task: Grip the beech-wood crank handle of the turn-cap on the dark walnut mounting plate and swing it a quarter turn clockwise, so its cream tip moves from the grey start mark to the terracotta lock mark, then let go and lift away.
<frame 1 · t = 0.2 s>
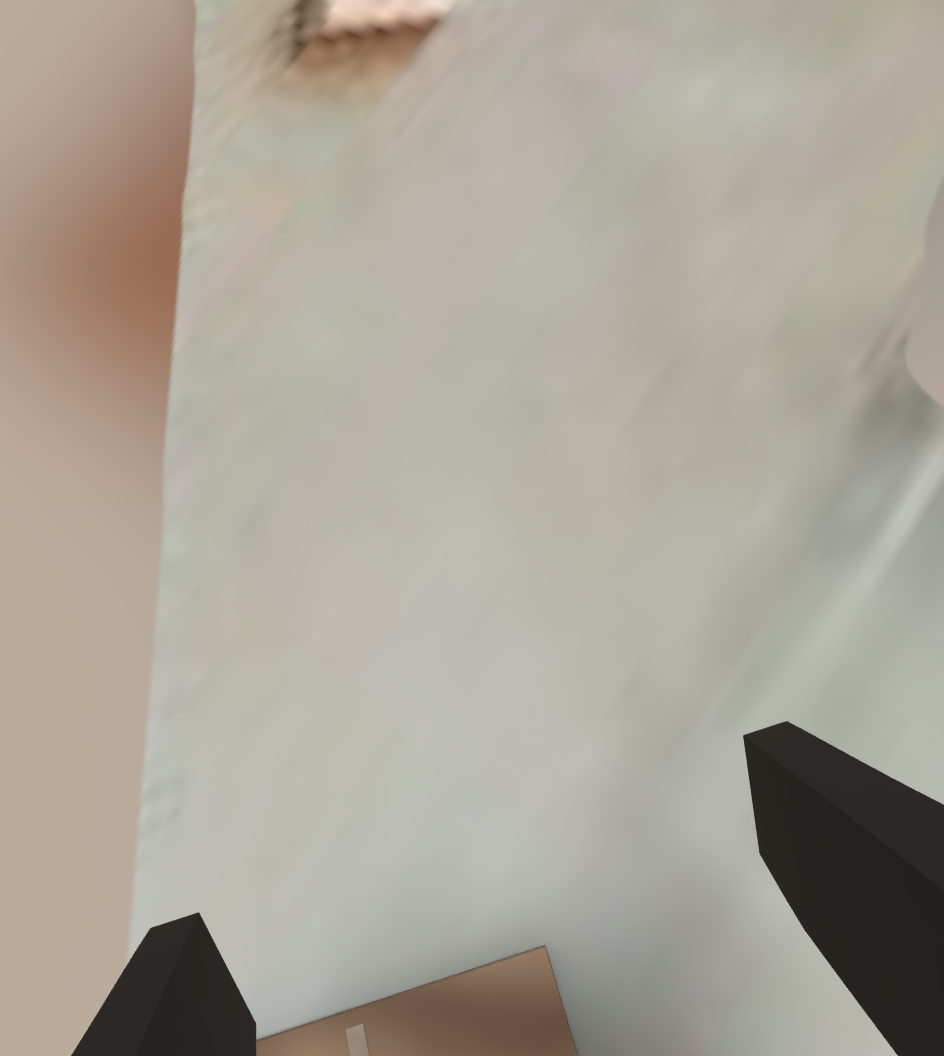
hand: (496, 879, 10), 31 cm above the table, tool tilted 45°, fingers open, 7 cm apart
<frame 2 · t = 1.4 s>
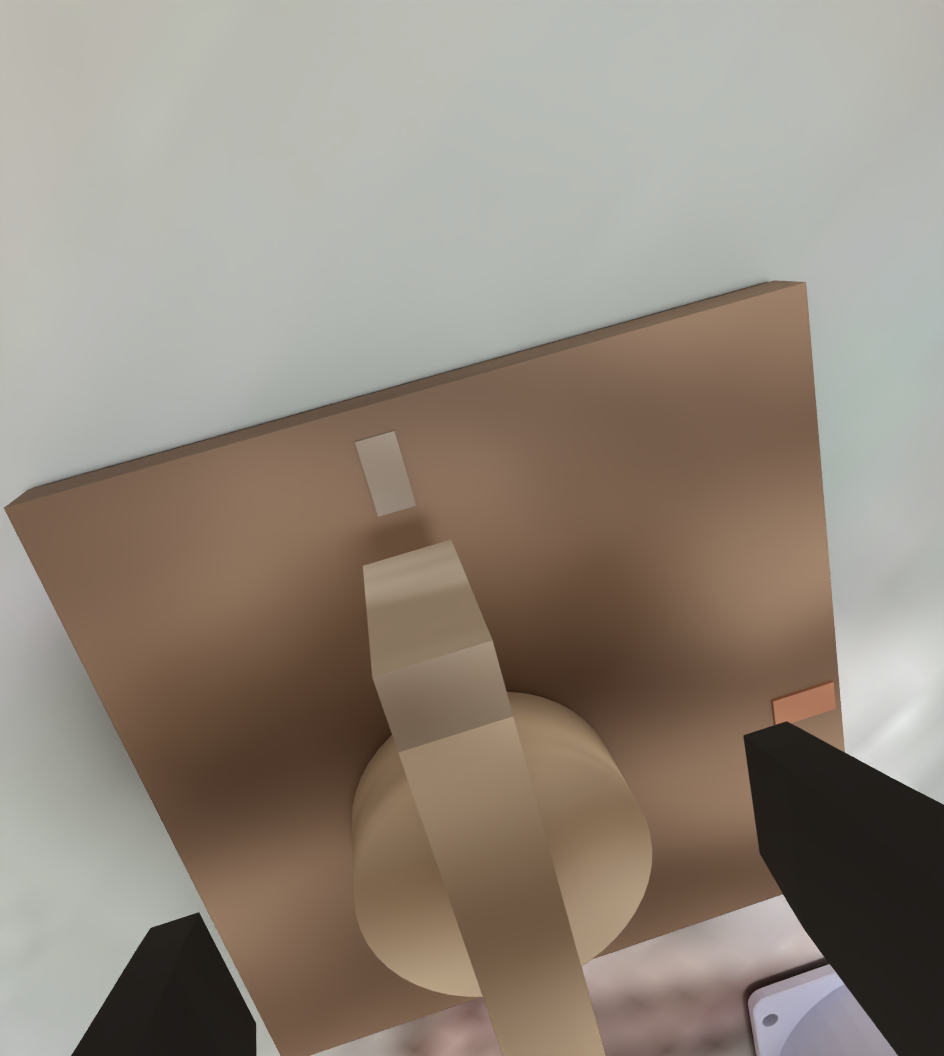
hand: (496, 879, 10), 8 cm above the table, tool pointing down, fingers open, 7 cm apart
turn cap: (488, 823, 15), point 4 cm above the table, hinge at 0.0°
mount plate: (477, 773, 20), on the table
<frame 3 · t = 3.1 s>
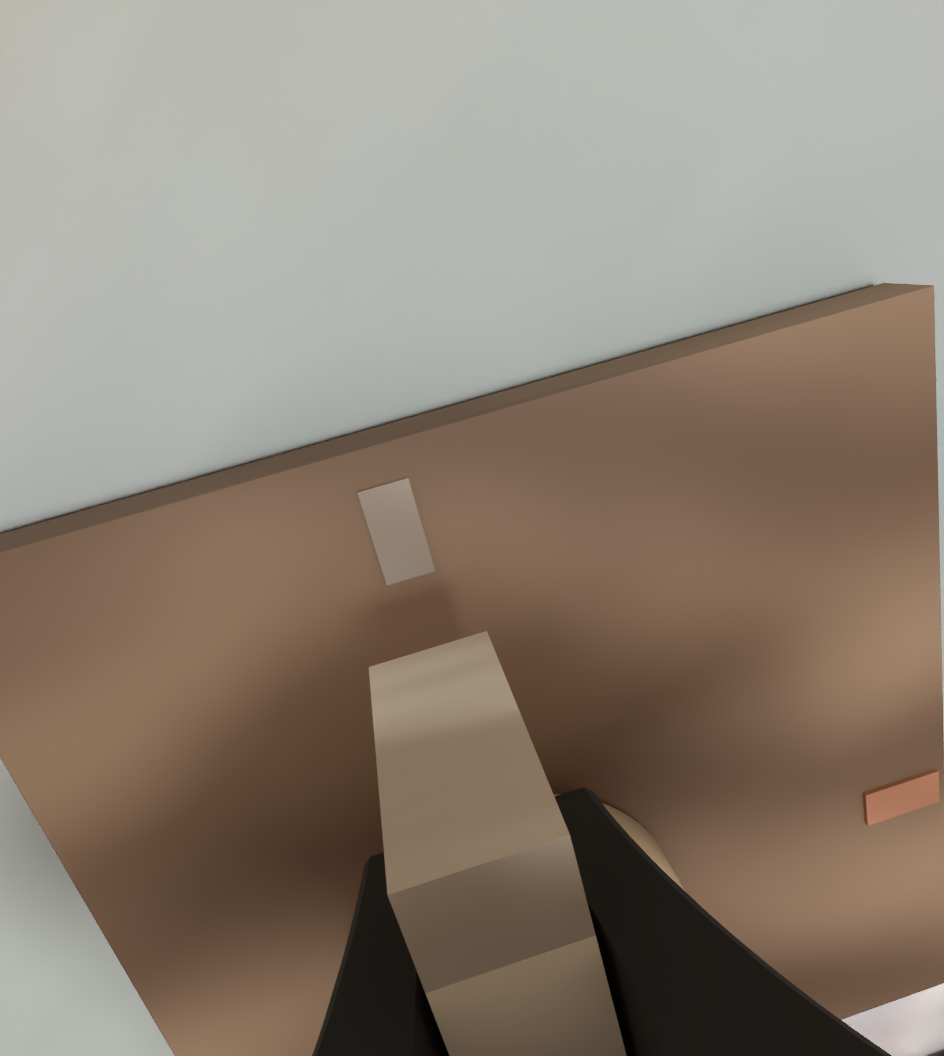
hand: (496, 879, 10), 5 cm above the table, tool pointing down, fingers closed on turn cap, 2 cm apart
turn cap: (531, 989, 11), point 4 cm above the table, hinge at 0.0°, touching gripper
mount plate: (504, 878, 16), on the table
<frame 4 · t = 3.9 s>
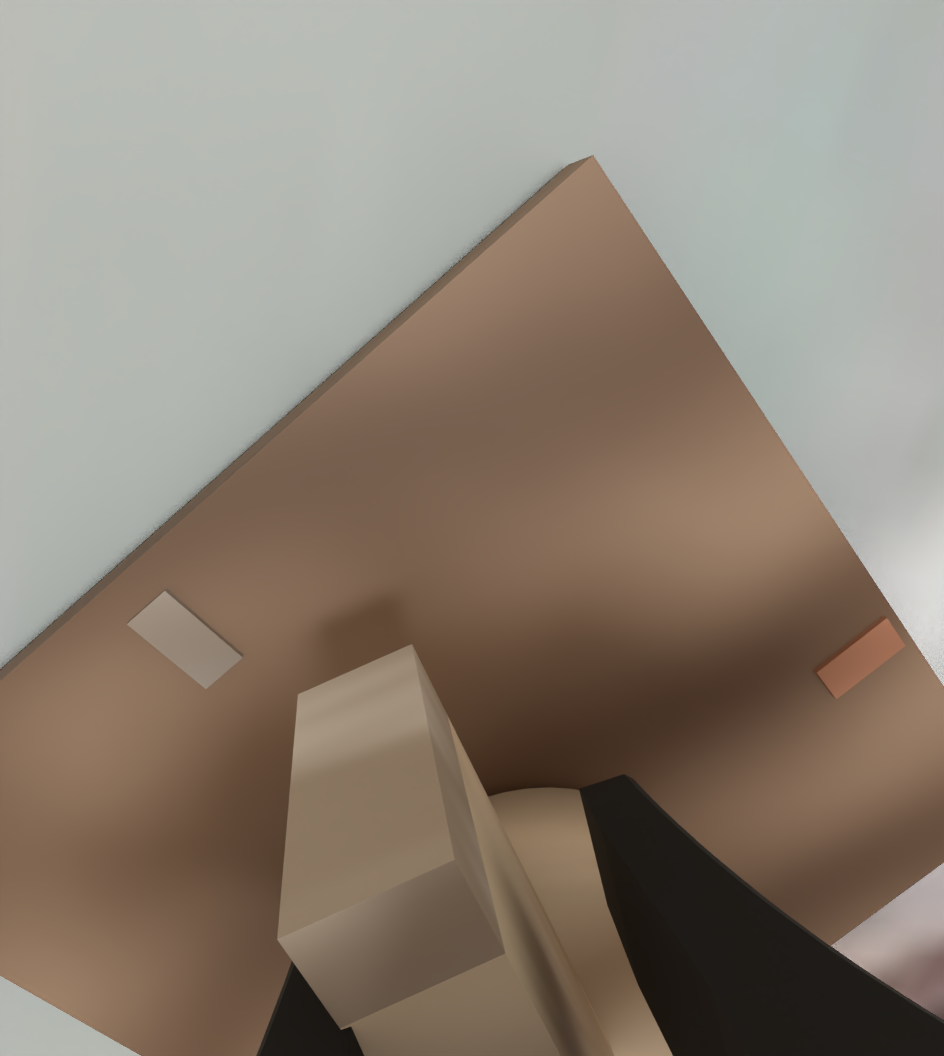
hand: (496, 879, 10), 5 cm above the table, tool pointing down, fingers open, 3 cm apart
turn cap: (515, 990, 11), point 4 cm above the table, hinge at 17.7°, touching gripper
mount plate: (507, 872, 16), on the table
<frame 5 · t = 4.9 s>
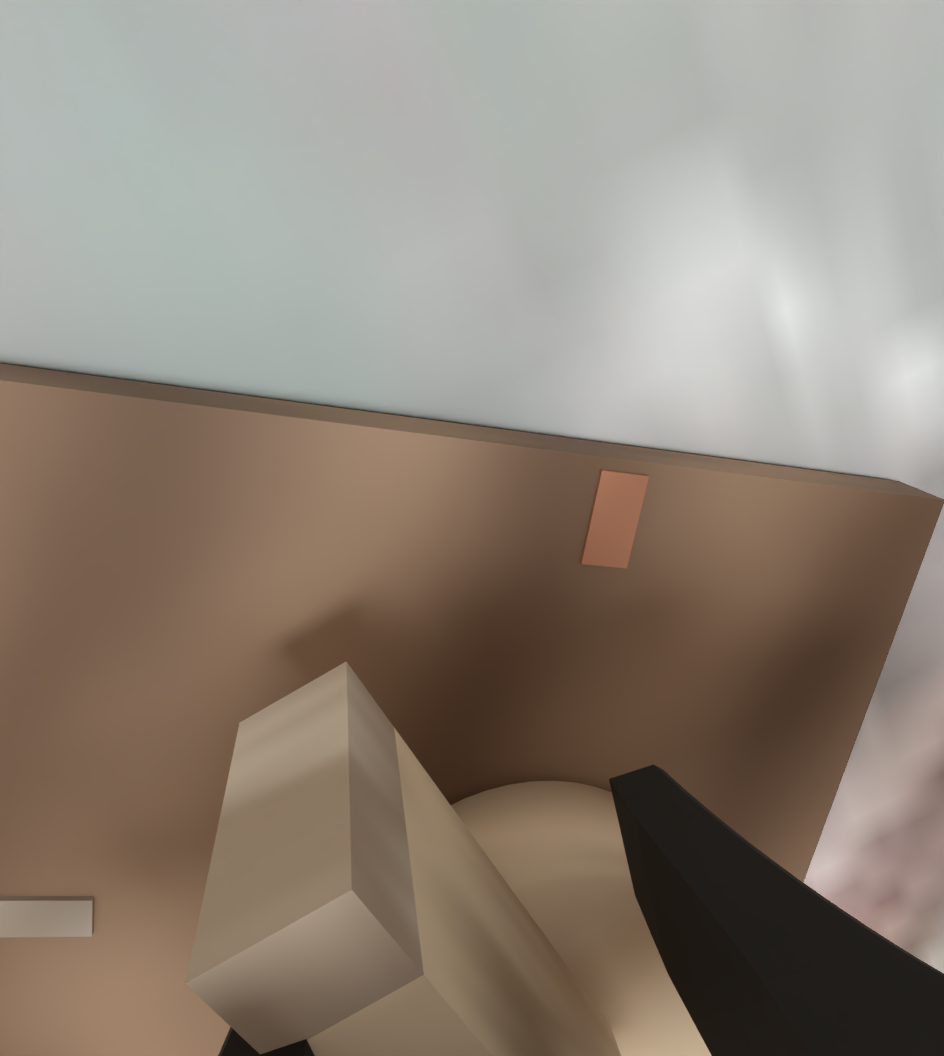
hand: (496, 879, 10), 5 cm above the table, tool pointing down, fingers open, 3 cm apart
turn cap: (500, 990, 11), point 4 cm above the table, hinge at 52.1°, touching gripper
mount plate: (508, 866, 16), on the table
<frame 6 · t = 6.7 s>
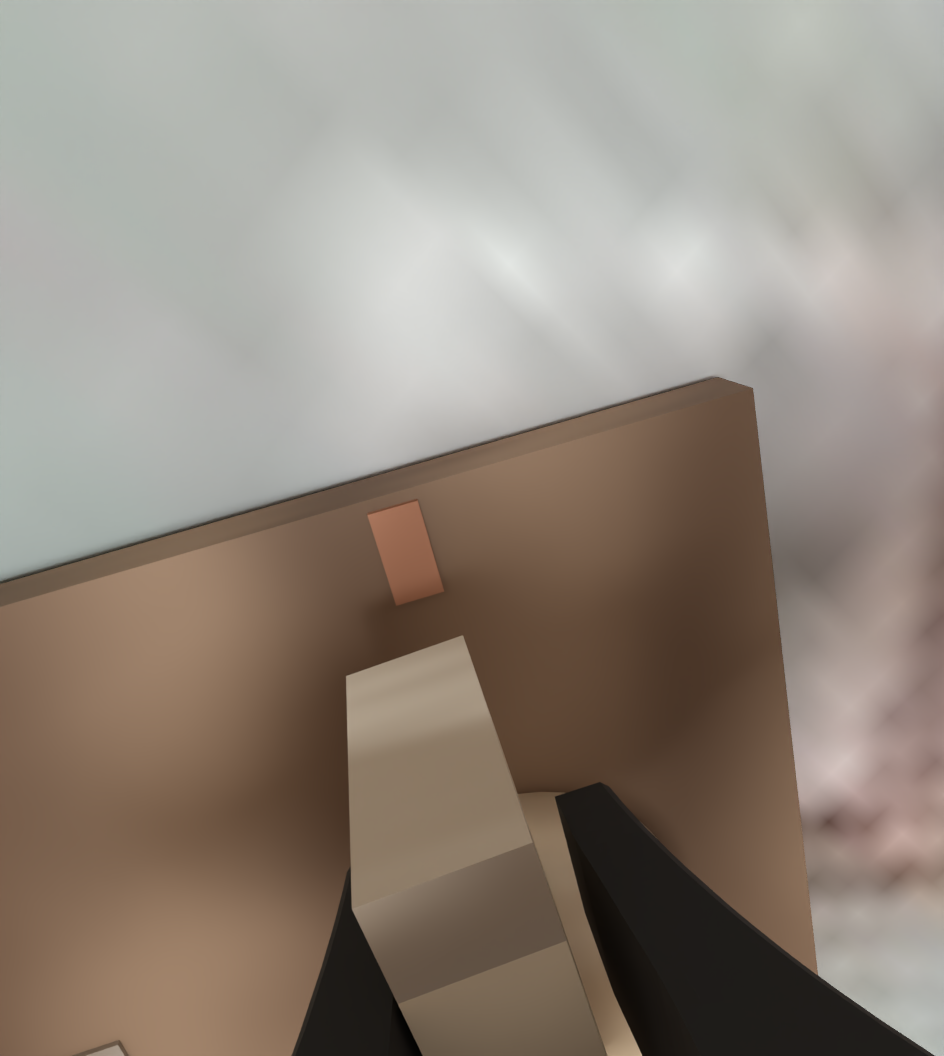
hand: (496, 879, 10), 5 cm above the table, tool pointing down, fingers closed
turn cap: (527, 989, 11), point 4 cm above the table, hinge at 87.4°, touching gripper
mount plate: (506, 876, 16), on the table
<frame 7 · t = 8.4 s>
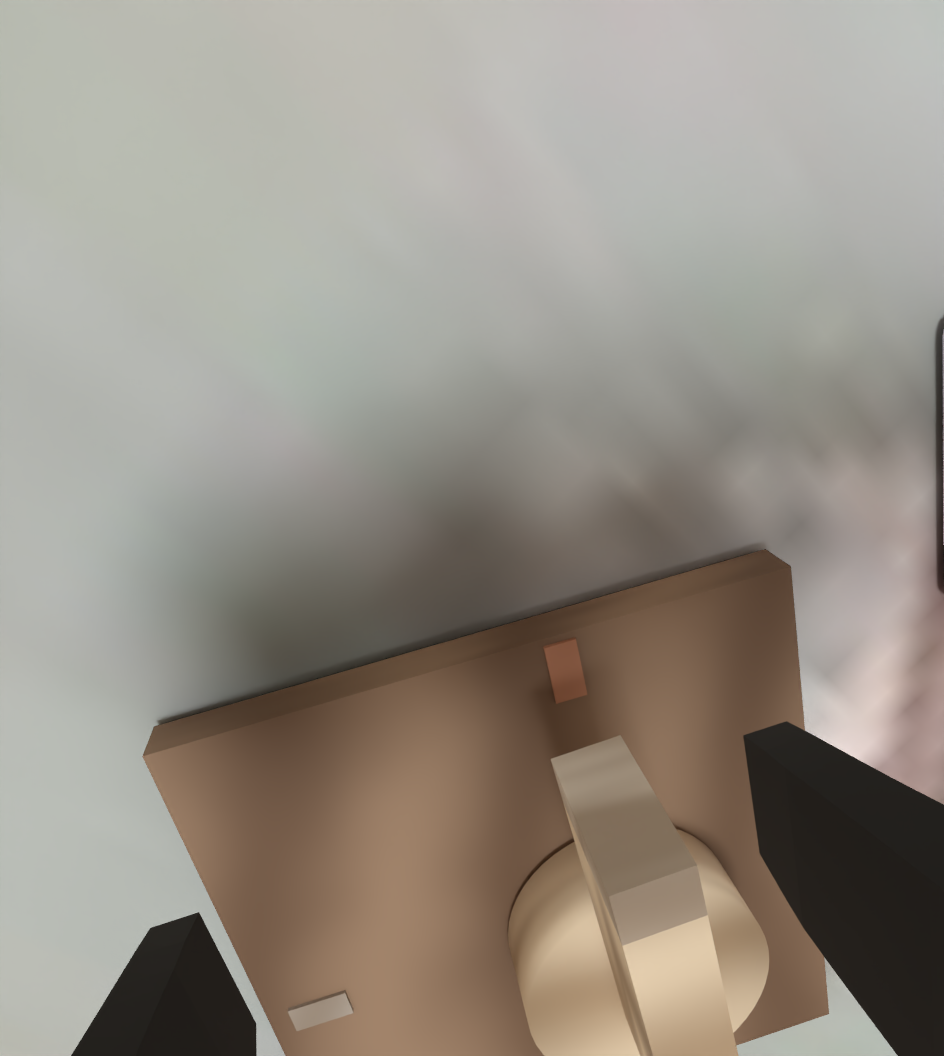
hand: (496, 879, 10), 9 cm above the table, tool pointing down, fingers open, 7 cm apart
turn cap: (645, 952, 18), point 4 cm above the table, hinge at 87.6°
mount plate: (604, 880, 23), on the table
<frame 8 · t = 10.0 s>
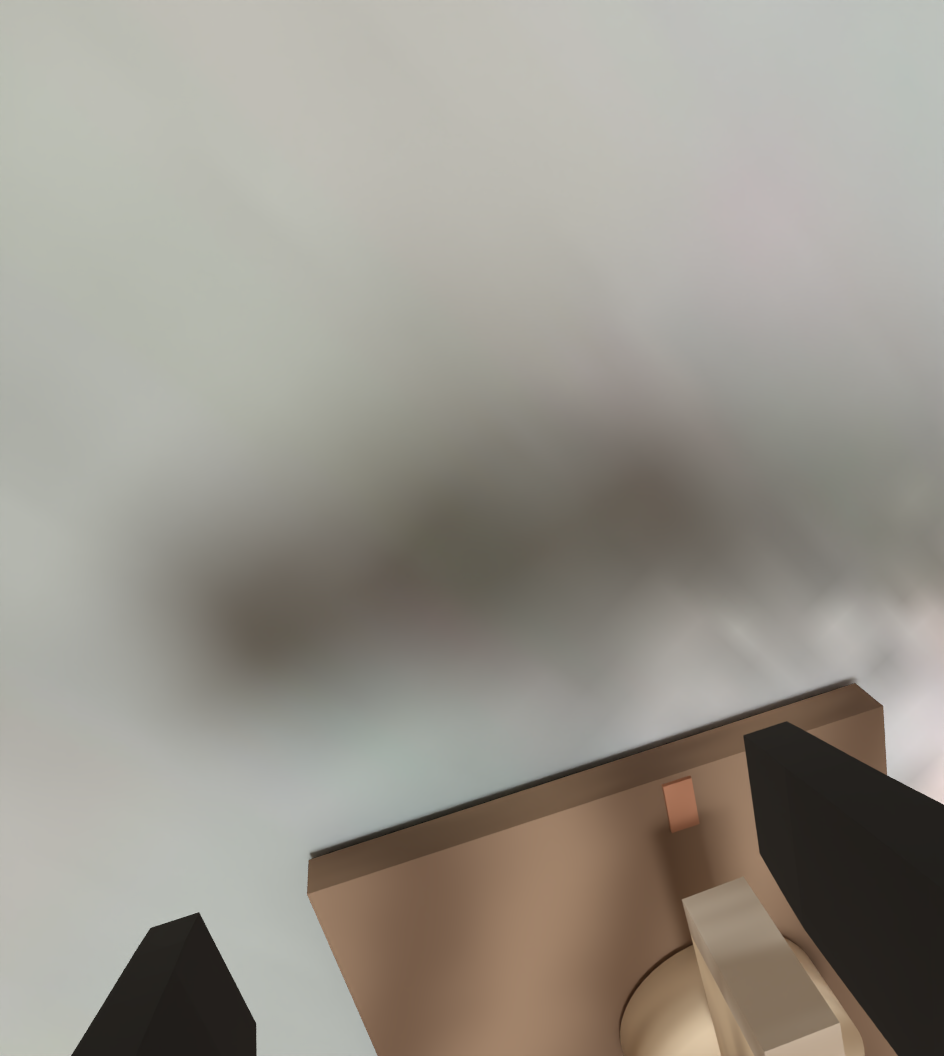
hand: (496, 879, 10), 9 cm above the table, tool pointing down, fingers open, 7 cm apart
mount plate: (700, 974, 25), on the table
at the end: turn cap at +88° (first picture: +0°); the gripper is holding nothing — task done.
